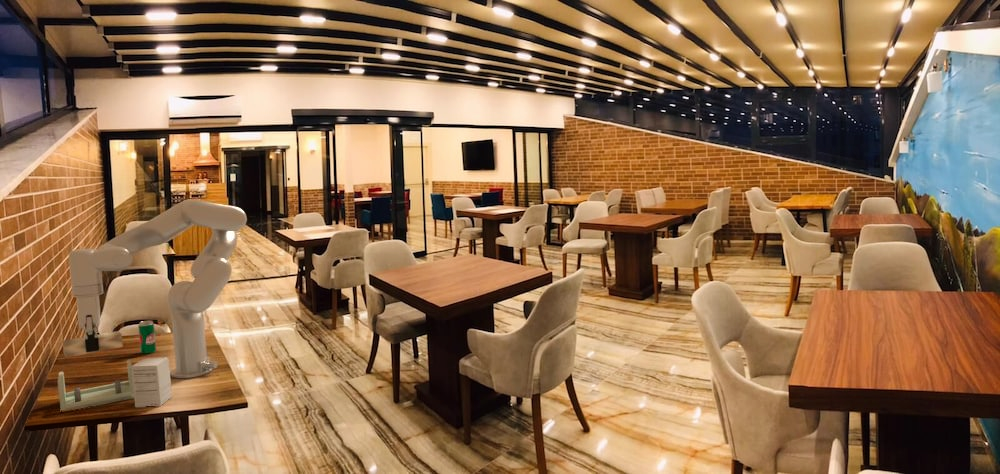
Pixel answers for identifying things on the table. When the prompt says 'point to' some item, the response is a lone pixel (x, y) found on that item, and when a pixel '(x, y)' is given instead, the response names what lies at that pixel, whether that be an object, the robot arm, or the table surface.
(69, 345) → the shelf board
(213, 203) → the robot arm
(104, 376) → the table surface
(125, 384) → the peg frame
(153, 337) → the soda can
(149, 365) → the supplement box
